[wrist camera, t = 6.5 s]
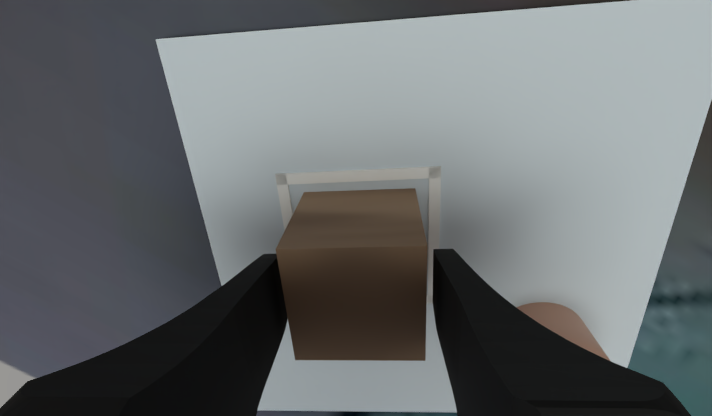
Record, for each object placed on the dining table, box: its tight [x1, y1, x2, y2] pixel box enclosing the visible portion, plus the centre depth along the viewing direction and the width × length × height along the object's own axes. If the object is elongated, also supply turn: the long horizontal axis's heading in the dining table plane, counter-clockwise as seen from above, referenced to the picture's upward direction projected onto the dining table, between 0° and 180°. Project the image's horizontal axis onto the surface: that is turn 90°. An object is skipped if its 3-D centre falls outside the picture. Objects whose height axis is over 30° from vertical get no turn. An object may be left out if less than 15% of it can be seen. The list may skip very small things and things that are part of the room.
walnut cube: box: [276, 188, 428, 361], centre depth 12 cm, size 4×4×4 cm
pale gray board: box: [156, 0, 712, 412], centre depth 15 cm, size 17×17×1 cm
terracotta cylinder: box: [516, 302, 610, 361], centre depth 14 cm, size 4×4×4 cm
